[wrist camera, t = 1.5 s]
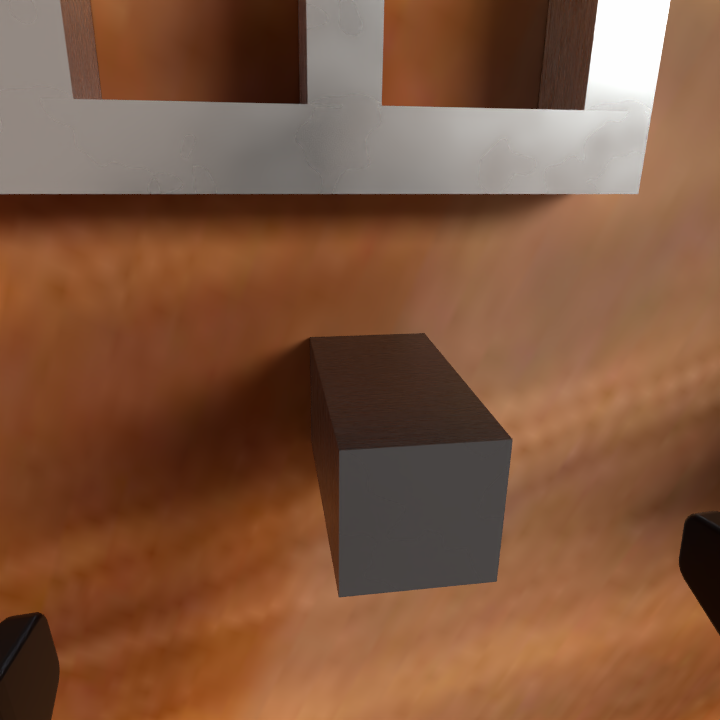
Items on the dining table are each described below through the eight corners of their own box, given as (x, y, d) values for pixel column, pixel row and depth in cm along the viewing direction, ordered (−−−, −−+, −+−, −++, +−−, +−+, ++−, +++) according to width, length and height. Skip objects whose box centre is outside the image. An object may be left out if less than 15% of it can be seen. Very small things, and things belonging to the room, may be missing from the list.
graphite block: (424, 333, 21) (512, 439, 14) (418, 435, 23) (496, 581, 15) (309, 337, 21) (339, 450, 13) (311, 442, 22) (338, 597, 15)
